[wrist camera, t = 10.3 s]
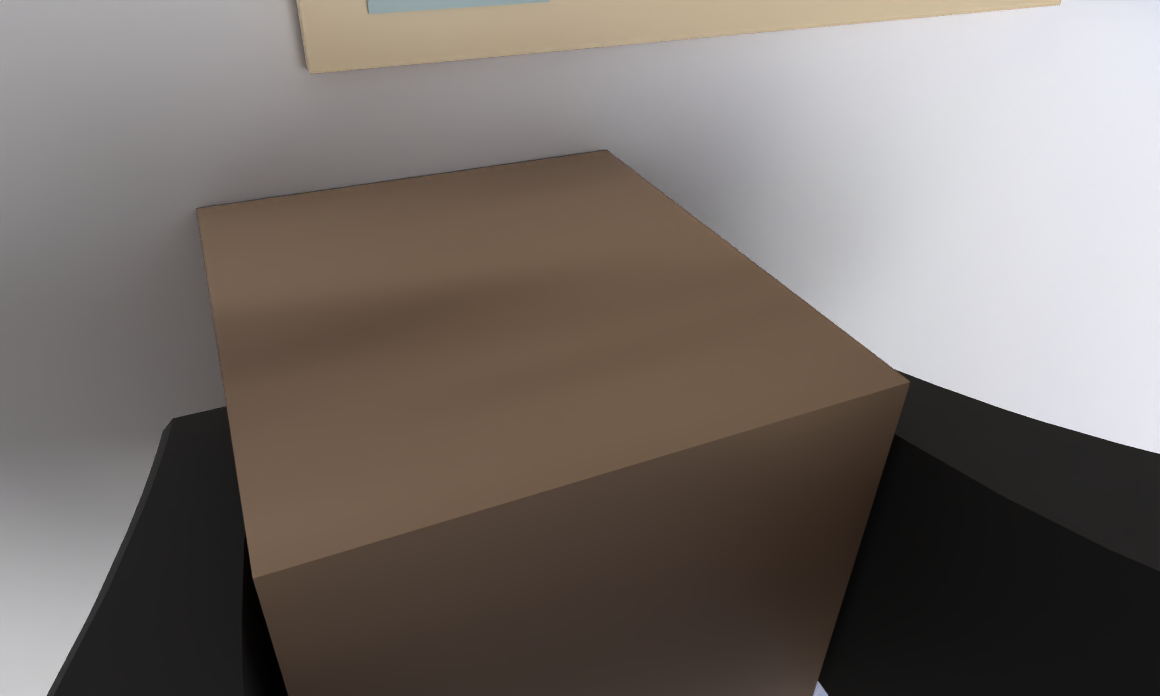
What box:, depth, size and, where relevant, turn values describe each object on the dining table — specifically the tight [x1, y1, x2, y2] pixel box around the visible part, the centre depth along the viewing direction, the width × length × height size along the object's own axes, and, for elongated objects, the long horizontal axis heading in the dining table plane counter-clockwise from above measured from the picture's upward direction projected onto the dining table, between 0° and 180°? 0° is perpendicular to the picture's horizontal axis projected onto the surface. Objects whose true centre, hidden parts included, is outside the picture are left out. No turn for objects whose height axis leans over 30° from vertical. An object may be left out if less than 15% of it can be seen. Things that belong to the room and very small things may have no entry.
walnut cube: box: [197, 150, 910, 696], centre depth 8 cm, size 4×4×5 cm
